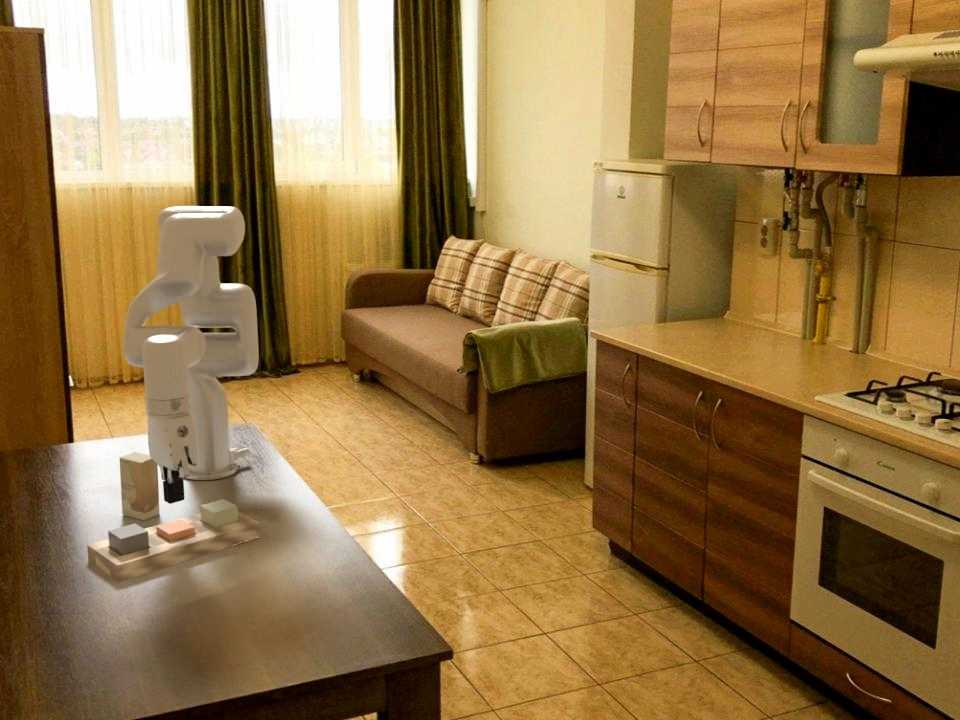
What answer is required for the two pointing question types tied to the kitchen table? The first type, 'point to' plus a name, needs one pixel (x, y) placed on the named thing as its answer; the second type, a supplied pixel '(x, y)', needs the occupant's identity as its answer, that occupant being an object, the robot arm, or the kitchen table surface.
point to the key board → (171, 547)
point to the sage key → (219, 513)
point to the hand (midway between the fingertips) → (174, 500)
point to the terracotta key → (175, 530)
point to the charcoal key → (128, 539)
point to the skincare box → (139, 486)
